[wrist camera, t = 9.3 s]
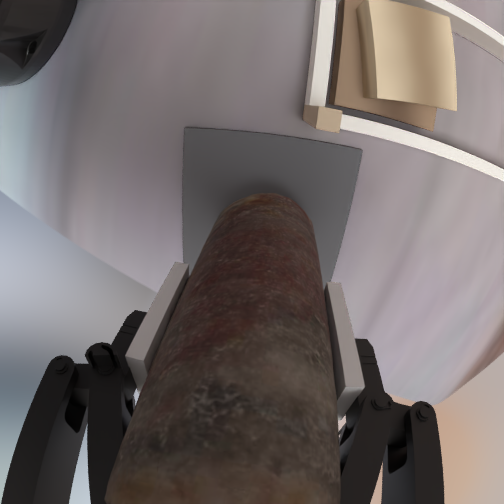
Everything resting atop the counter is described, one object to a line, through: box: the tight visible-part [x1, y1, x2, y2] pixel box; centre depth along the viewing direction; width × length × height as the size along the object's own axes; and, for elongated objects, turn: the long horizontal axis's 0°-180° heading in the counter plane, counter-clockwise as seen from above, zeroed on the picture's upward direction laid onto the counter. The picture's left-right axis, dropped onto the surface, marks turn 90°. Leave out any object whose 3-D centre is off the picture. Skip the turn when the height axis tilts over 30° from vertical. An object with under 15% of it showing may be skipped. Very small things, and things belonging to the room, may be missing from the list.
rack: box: [303, 0, 504, 181], centre depth 13 cm, size 28×13×8 cm, turn 85°
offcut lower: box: [329, 0, 437, 131], centre depth 16 cm, size 8×9×3 cm
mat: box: [182, 128, 363, 290], centre depth 24 cm, size 14×14×1 cm
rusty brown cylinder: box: [104, 193, 341, 504], centre depth 13 cm, size 8×7×20 cm
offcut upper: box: [356, 0, 457, 111], centre depth 13 cm, size 6×7×3 cm
